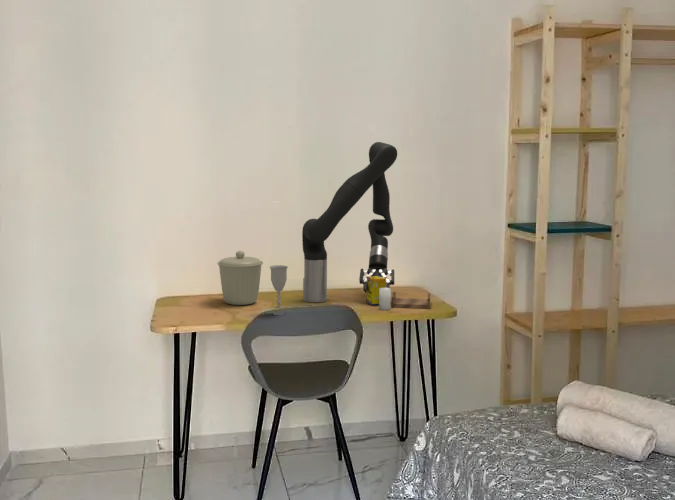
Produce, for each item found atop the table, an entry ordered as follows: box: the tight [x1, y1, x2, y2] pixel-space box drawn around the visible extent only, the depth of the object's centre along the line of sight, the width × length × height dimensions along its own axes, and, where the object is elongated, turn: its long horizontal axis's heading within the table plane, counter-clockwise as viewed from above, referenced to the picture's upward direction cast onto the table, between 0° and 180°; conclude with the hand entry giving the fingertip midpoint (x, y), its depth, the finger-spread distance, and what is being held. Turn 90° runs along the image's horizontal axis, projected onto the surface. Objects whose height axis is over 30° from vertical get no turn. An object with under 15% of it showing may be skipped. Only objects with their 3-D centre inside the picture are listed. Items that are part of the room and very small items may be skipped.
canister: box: [217, 250, 264, 306], centre depth 303 cm, size 18×18×21 cm
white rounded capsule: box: [378, 287, 392, 311], centre depth 295 cm, size 4×4×8 cm
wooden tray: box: [391, 291, 431, 310], centre depth 302 cm, size 15×11×4 cm
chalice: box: [269, 264, 289, 309], centre depth 285 cm, size 7×7×18 cm
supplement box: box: [366, 275, 386, 307], centre depth 303 cm, size 6×6×11 cm
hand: (376, 291), depth 302 cm, fingers closed on supplement box, 8 cm apart
